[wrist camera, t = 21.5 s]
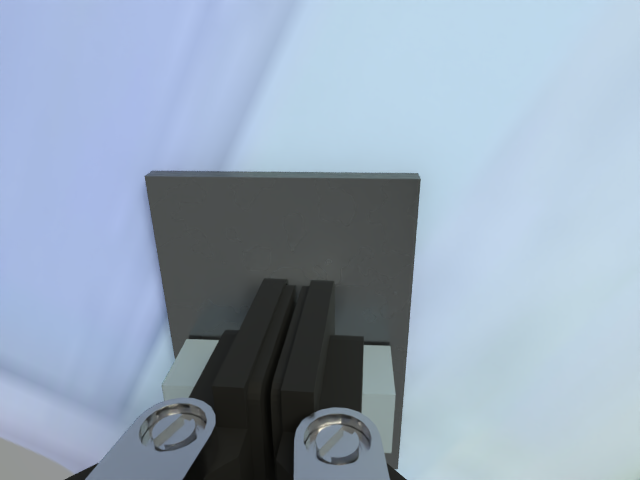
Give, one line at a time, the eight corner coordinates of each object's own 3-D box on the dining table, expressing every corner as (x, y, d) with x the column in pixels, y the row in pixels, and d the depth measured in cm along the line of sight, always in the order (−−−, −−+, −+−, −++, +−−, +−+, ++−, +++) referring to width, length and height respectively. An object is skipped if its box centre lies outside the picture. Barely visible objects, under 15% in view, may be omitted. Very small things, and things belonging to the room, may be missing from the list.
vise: (418, 173, 24) (432, 206, 20) (396, 456, 33) (403, 526, 28) (152, 170, 25) (107, 202, 21) (196, 446, 34) (170, 512, 29)
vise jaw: (392, 316, 27) (408, 445, 18) (386, 399, 29) (399, 546, 21) (182, 310, 27) (108, 430, 19) (194, 391, 30) (133, 529, 22)
